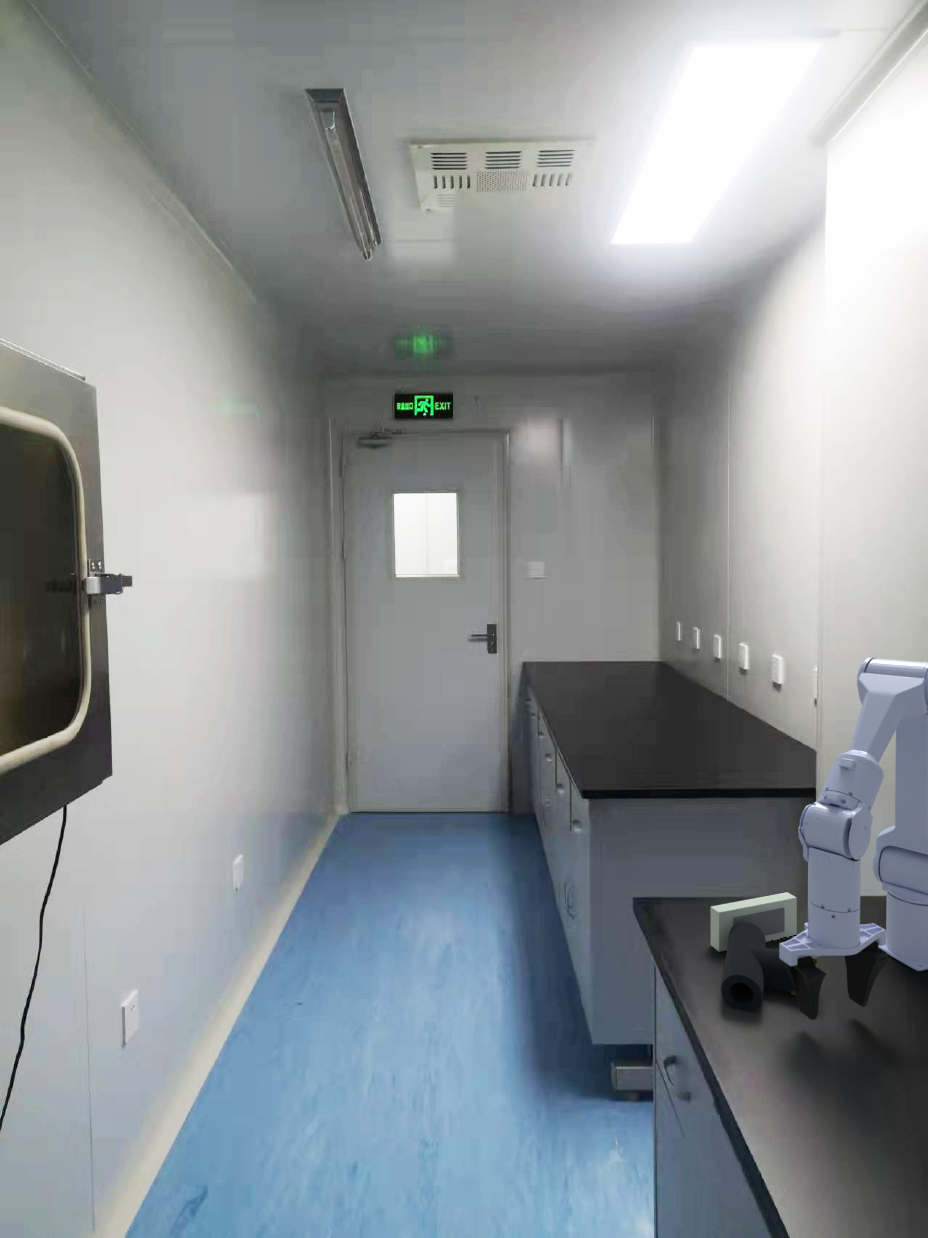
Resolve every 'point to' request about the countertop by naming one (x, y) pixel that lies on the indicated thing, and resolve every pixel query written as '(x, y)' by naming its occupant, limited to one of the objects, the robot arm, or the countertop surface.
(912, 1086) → the countertop surface
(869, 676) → the robot arm
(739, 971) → the pipe connector
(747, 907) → the block
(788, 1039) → the countertop surface
